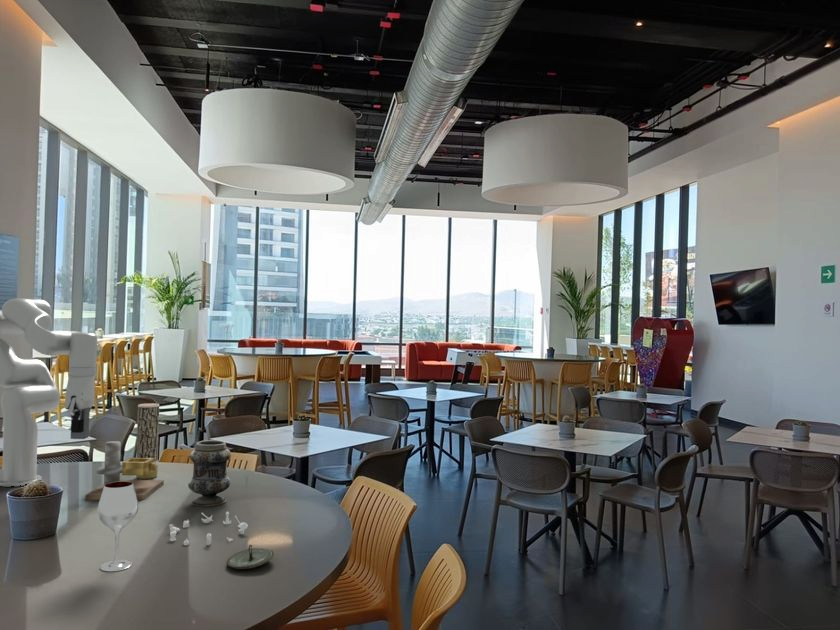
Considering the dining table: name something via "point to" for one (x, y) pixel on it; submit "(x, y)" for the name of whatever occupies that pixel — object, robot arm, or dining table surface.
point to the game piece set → (186, 542)
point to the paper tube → (148, 434)
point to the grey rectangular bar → (85, 429)
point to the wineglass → (117, 516)
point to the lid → (250, 558)
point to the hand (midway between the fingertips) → (79, 430)
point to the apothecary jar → (209, 472)
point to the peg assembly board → (125, 472)
